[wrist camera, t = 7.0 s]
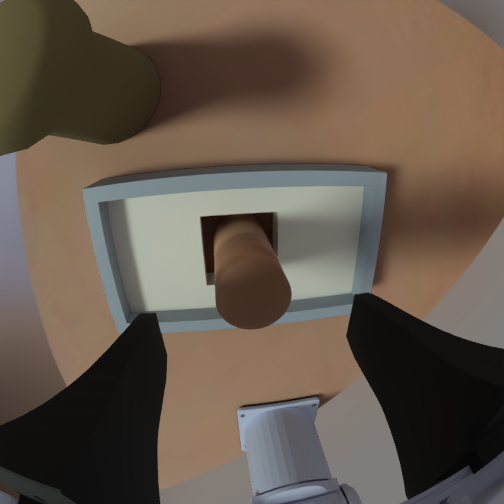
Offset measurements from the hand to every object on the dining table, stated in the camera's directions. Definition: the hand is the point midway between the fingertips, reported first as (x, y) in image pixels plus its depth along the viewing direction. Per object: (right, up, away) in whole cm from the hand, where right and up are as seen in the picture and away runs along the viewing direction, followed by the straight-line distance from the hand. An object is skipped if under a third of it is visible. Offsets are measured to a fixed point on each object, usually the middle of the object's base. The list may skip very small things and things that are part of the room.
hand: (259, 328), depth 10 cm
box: (-1, +3, +8) cm, 8 cm away
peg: (-1, +4, +7) cm, 8 cm away
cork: (-8, +12, +3) cm, 15 cm away
